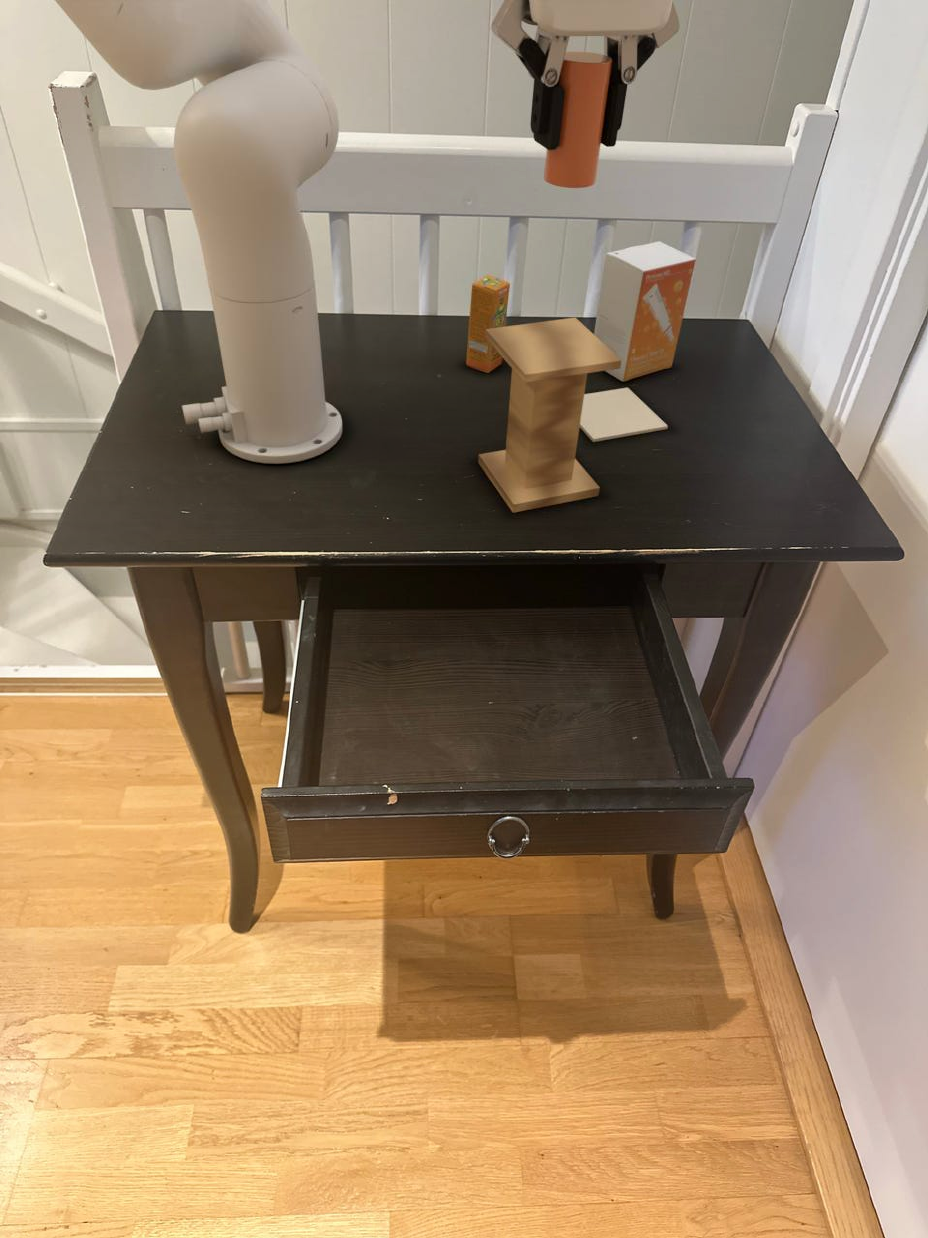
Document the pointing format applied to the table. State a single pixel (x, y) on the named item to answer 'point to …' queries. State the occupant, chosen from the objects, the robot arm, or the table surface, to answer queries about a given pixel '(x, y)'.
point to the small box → (643, 306)
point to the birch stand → (545, 412)
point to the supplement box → (486, 321)
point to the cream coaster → (617, 415)
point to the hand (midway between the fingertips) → (574, 140)
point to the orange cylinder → (580, 120)
